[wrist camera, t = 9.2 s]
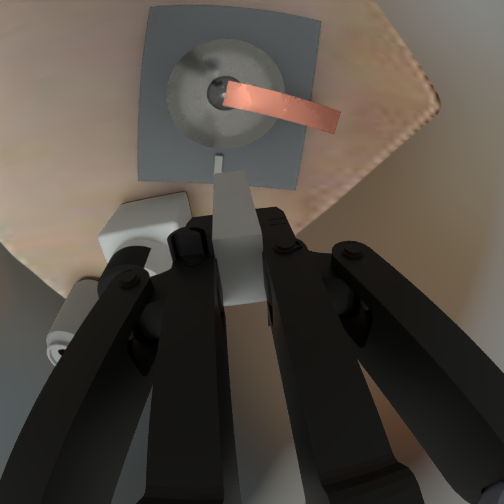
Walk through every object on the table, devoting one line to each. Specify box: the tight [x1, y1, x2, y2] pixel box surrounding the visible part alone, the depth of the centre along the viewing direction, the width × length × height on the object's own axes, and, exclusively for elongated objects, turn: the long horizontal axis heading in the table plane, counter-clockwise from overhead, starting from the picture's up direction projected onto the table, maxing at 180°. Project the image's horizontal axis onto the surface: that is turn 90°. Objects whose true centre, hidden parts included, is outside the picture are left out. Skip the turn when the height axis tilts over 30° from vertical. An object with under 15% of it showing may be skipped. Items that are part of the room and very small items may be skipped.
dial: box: [166, 39, 341, 149], centre depth 21 cm, size 14×10×5 cm
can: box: [46, 280, 99, 366], centre depth 30 cm, size 8×8×12 cm
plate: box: [138, 5, 321, 190], centre depth 24 cm, size 18×16×2 cm
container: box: [97, 192, 192, 298], centre depth 26 cm, size 8×8×13 cm
